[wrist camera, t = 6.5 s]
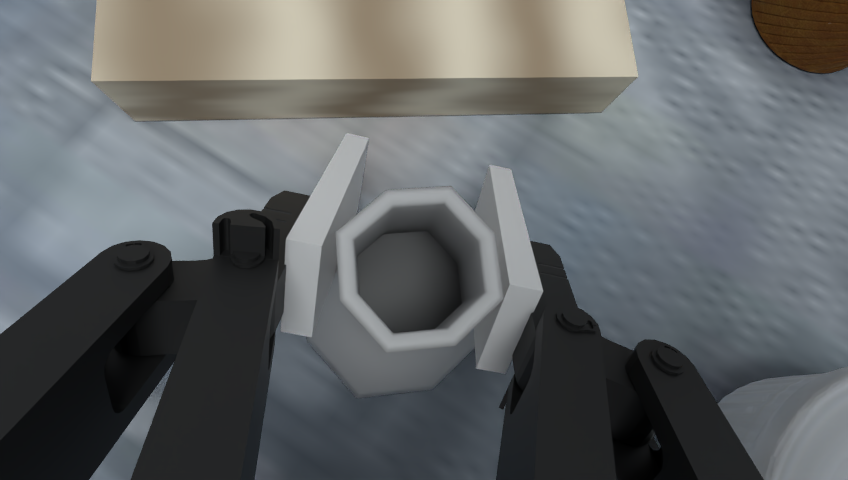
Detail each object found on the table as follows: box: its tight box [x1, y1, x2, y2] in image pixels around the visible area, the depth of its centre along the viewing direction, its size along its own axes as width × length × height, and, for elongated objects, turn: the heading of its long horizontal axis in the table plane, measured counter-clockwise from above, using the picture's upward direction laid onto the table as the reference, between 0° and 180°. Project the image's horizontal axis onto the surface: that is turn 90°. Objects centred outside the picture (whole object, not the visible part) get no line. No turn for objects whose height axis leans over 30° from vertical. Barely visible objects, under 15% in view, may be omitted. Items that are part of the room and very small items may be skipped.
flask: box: [307, 186, 504, 399], centre depth 13 cm, size 7×7×10 cm
